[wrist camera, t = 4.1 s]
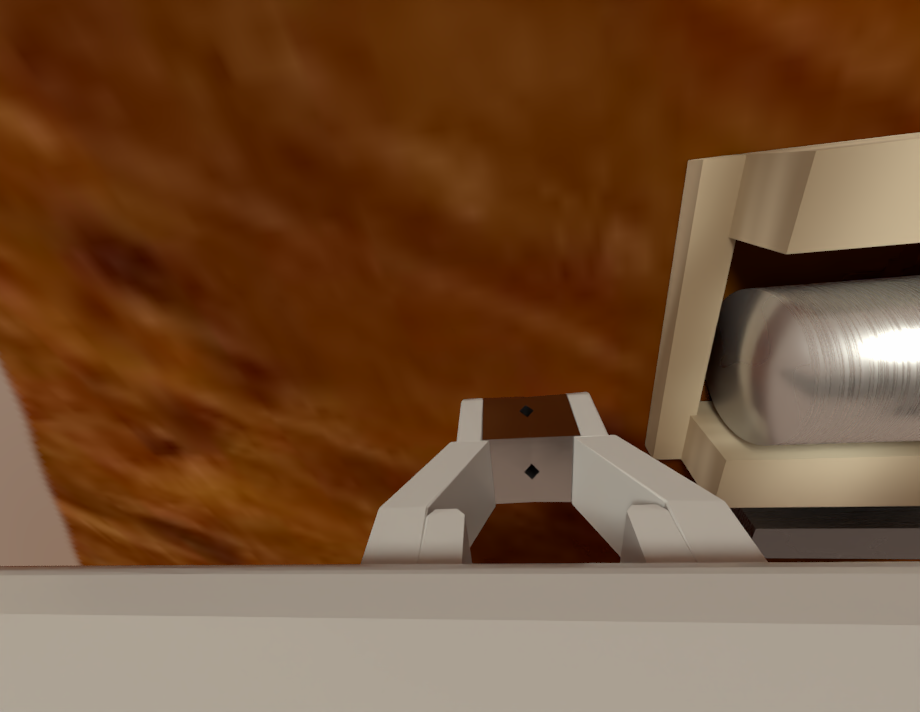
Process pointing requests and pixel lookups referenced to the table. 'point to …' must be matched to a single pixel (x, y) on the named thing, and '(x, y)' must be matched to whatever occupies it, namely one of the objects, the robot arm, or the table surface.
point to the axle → (819, 362)
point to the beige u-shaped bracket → (701, 293)
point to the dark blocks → (834, 531)
